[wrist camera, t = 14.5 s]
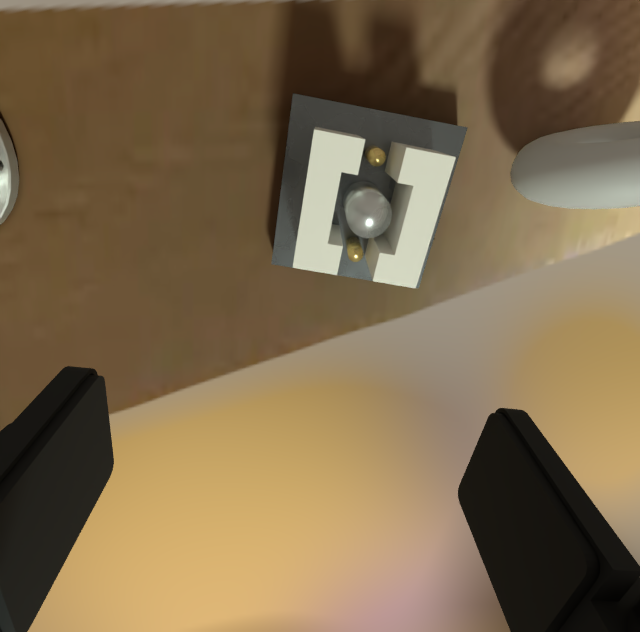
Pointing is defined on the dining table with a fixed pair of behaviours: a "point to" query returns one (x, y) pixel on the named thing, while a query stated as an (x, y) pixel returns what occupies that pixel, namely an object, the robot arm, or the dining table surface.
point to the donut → (582, 168)
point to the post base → (354, 190)
